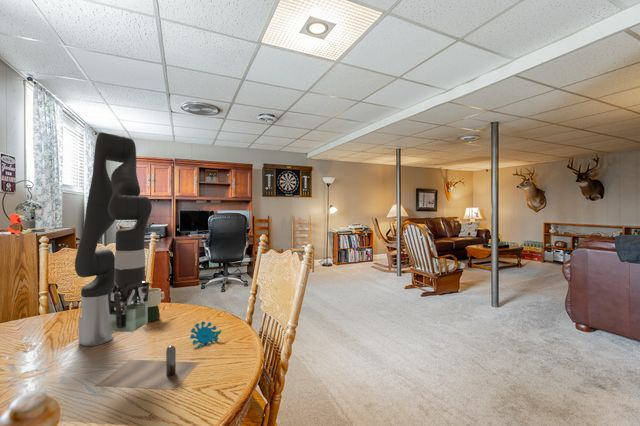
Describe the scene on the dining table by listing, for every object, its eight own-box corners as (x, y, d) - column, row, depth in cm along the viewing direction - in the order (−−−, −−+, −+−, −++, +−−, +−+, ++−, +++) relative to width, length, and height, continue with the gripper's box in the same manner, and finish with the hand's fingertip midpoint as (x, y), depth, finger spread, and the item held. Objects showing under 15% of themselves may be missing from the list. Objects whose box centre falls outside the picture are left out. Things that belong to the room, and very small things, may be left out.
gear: (192, 349, 101) (189, 321, 107) (187, 357, 104) (184, 329, 110) (224, 344, 108) (220, 319, 114) (218, 352, 111) (214, 326, 117)
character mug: (160, 314, 138) (160, 286, 138) (168, 318, 134) (168, 288, 133) (134, 322, 129) (134, 291, 129) (142, 326, 125) (142, 294, 125)
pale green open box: (110, 330, 85) (111, 309, 85) (127, 322, 91) (127, 302, 91) (132, 332, 84) (132, 310, 84) (147, 323, 91) (147, 303, 90)
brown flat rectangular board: (95, 390, 81) (95, 385, 81) (131, 363, 95) (131, 359, 95) (174, 394, 80) (174, 389, 80) (199, 366, 94) (199, 362, 94)
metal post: (164, 376, 86) (164, 347, 86) (169, 371, 88) (169, 343, 88) (172, 376, 86) (172, 348, 86) (177, 372, 88) (177, 344, 88)
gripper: (134, 260, 95) (134, 313, 95) (97, 269, 80) (97, 332, 81) (158, 261, 94) (157, 314, 94) (124, 270, 80) (124, 334, 80)
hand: (129, 322), depth 88 cm, fingers closed on pale green open box, 6 cm apart
